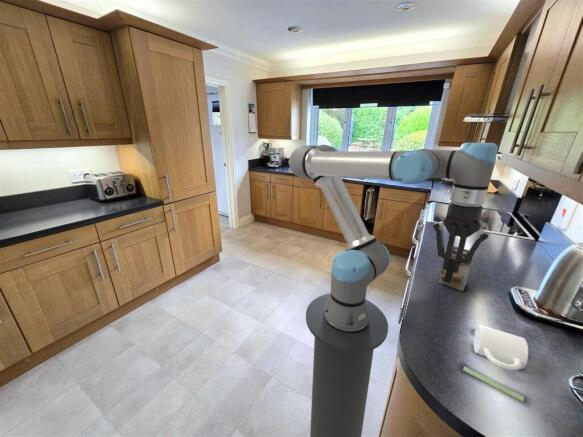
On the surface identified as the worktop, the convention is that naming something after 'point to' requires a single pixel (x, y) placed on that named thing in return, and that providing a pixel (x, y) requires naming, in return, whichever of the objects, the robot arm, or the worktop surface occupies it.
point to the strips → (494, 383)
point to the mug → (501, 348)
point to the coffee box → (462, 275)
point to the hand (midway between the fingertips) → (447, 280)
